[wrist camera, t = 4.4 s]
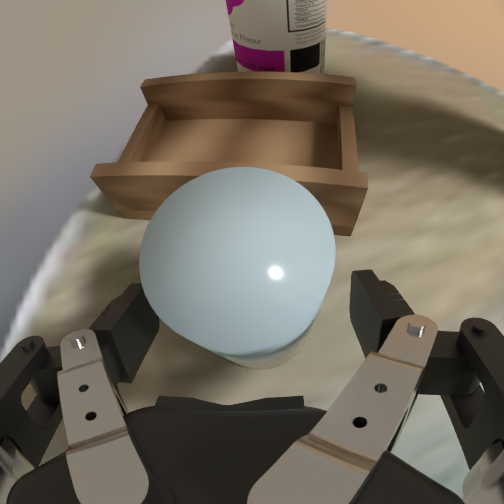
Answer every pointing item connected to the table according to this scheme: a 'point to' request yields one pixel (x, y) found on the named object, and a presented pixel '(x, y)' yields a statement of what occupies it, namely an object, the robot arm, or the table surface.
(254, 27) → the supplement can
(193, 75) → the wooden serving tray
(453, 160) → the table surface
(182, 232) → the domed pale cylinder
